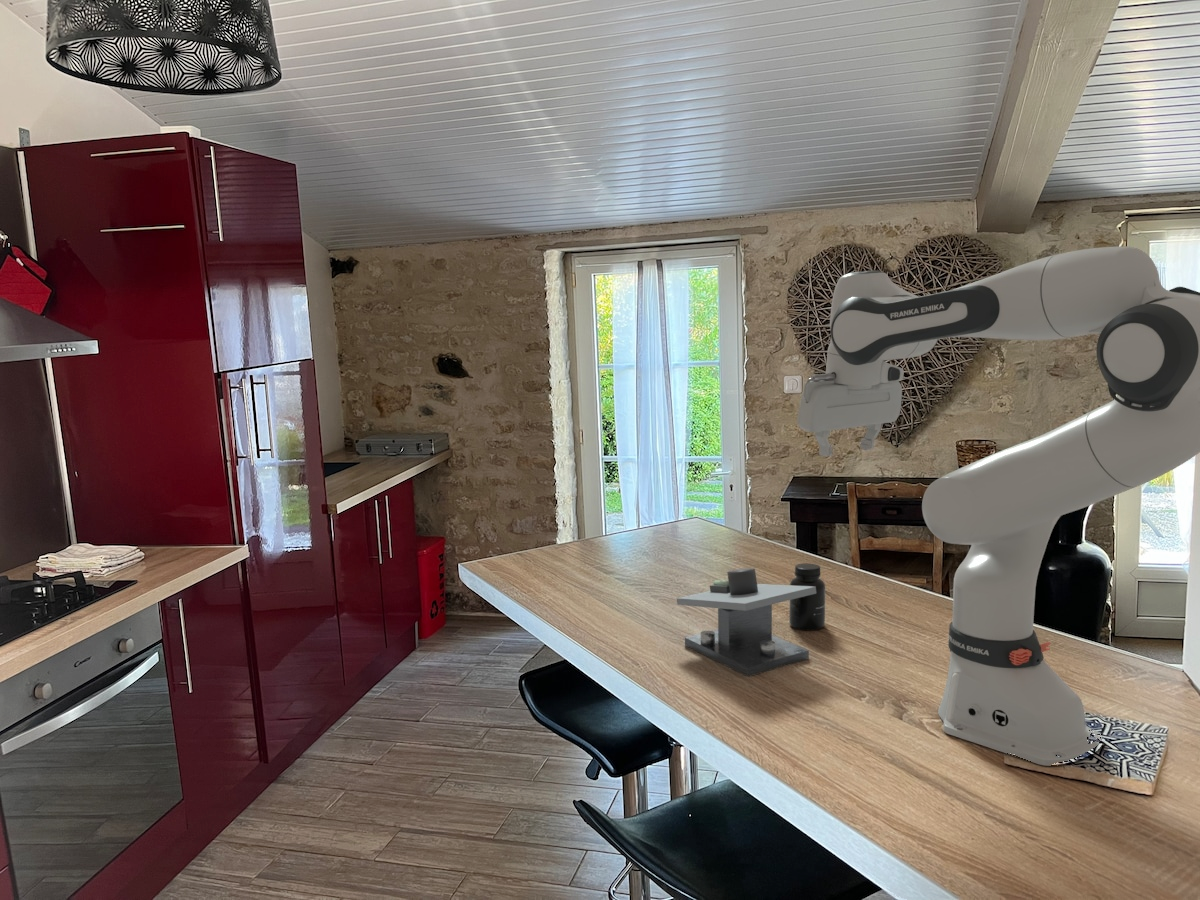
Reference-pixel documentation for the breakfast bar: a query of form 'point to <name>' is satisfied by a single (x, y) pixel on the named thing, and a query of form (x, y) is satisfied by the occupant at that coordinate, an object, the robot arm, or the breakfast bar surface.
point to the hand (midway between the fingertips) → (846, 452)
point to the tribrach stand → (746, 642)
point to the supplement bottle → (808, 599)
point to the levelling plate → (744, 593)
